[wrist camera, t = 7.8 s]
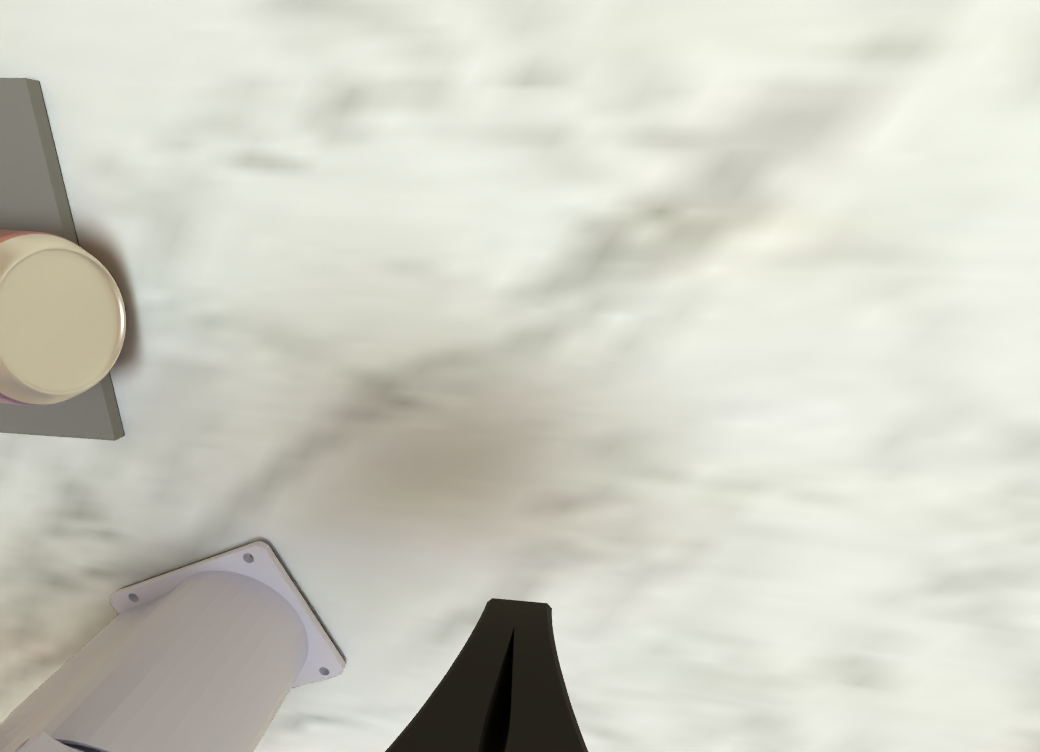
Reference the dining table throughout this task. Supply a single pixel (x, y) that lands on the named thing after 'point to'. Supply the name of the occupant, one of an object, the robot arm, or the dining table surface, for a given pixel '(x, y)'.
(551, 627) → the robot arm
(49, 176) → the mat
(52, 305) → the beverage can
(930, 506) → the dining table surface
